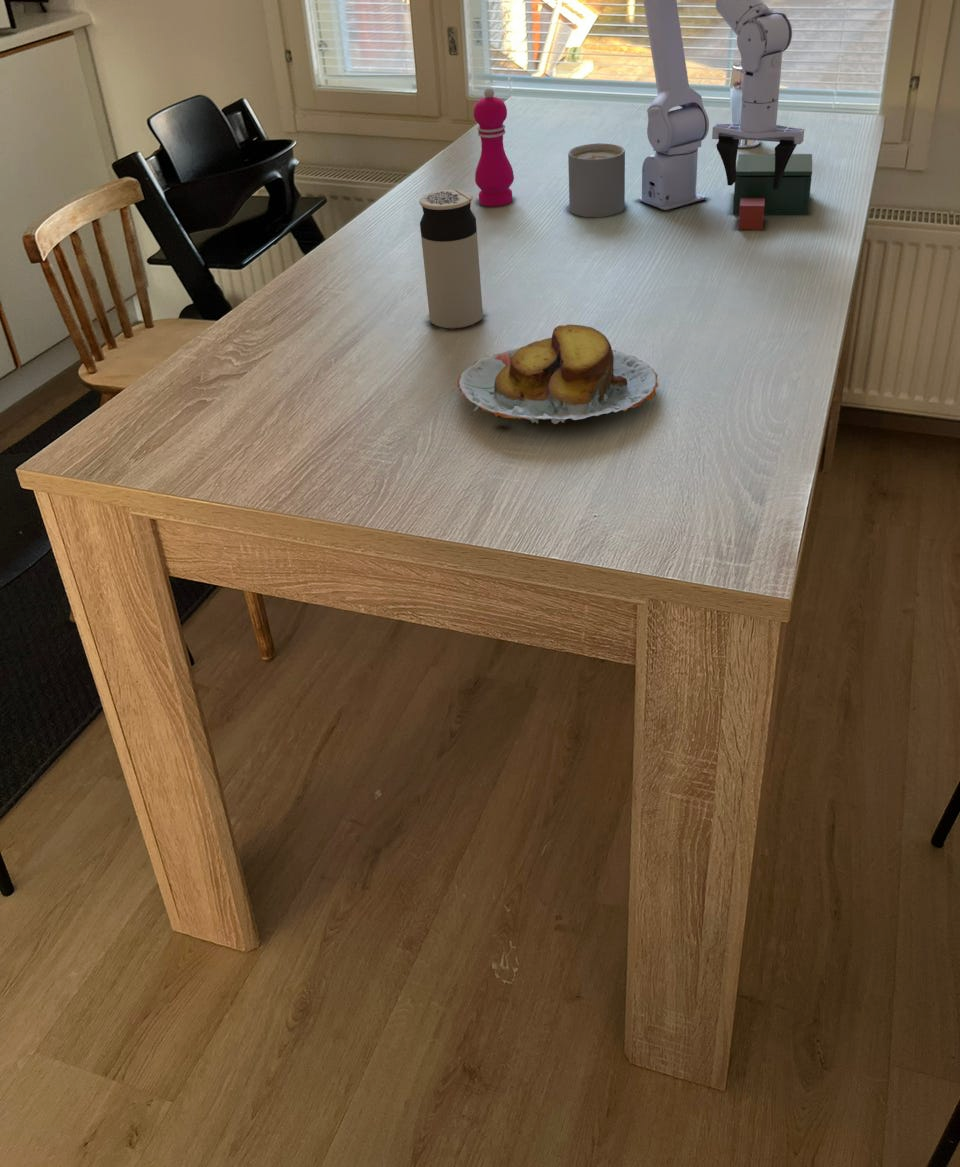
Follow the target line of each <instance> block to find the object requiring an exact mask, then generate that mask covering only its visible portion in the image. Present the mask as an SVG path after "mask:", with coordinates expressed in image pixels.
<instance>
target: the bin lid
mask: <svg viewBox="0 0 960 1167" xmlns="http://www.w3.org/2000/svg"><path fill="white" fill-rule="evenodd" d="M774 173H775V153H749V154H748V153H745V154H744V153H741V154H738V155H737V160H736V176H774ZM783 176H813V154H812V153H792V155H791V157H790V159H789V161H788V163H787V165H786V168H785V171H784V173H783Z"/></svg>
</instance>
